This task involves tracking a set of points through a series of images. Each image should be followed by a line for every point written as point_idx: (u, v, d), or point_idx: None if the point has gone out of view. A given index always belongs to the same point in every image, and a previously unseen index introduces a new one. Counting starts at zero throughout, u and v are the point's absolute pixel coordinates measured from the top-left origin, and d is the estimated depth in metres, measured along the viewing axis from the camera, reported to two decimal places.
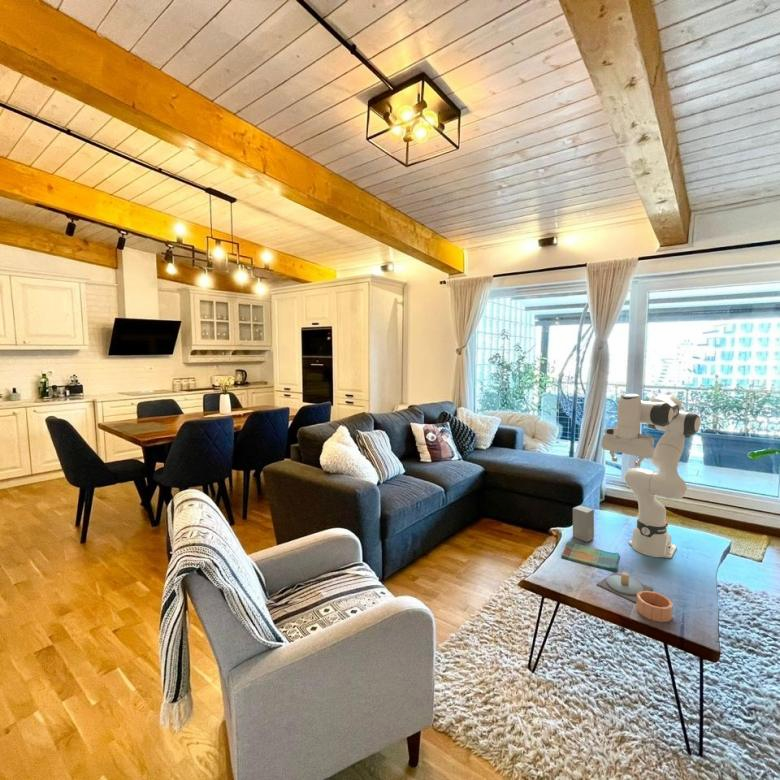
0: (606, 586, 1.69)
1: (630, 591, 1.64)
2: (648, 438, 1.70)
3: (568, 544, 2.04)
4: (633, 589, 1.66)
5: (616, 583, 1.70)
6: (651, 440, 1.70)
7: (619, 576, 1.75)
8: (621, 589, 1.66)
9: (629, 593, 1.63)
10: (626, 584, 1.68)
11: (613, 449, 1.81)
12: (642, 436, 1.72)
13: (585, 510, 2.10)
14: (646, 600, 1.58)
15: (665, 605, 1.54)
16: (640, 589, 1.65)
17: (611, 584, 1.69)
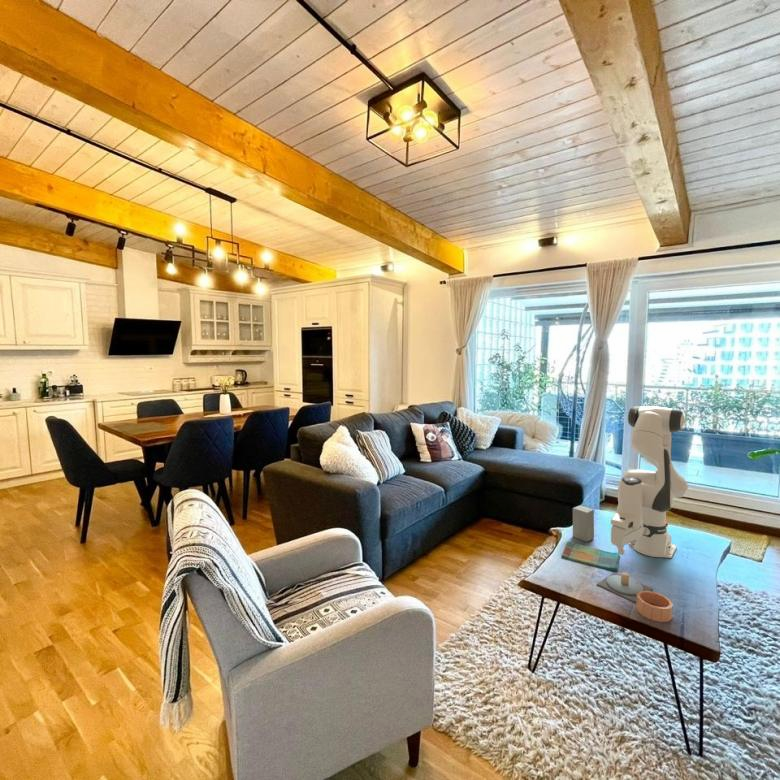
0: (606, 586, 1.69)
1: (630, 591, 1.64)
2: None
3: (568, 544, 2.04)
4: (633, 589, 1.66)
5: (616, 583, 1.70)
6: None
7: (619, 576, 1.75)
8: (621, 589, 1.66)
9: (629, 593, 1.63)
10: (626, 584, 1.68)
11: (626, 542, 1.63)
12: None
13: (585, 510, 2.10)
14: (646, 600, 1.58)
15: (665, 605, 1.54)
16: (640, 589, 1.65)
17: (611, 584, 1.69)
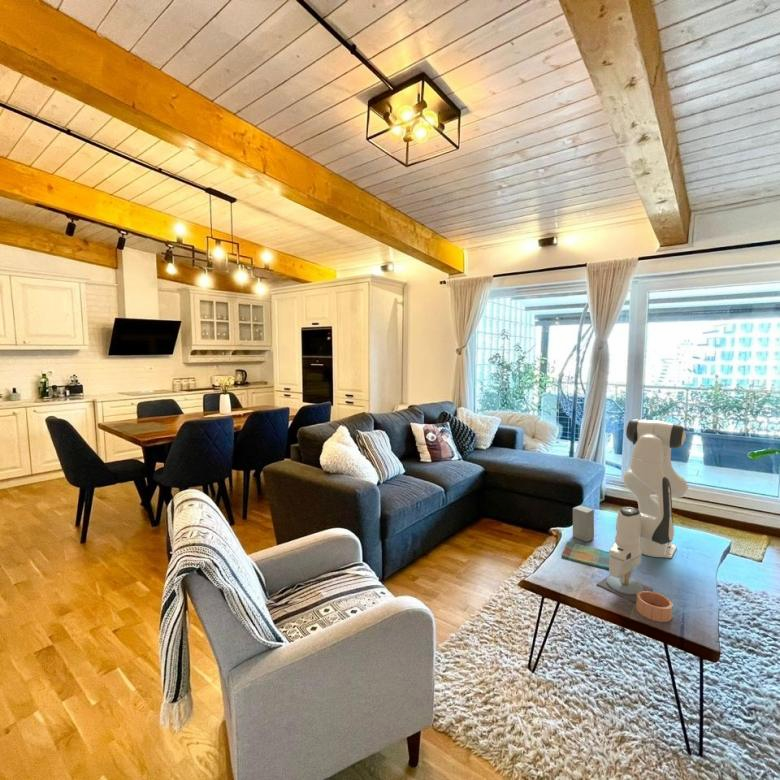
0: (606, 586, 1.69)
1: (630, 591, 1.64)
2: None
3: (568, 544, 2.04)
4: (633, 589, 1.66)
5: (616, 583, 1.70)
6: None
7: None
8: (621, 589, 1.66)
9: (629, 593, 1.63)
10: (626, 584, 1.68)
11: (625, 572, 1.65)
12: None
13: (585, 510, 2.10)
14: (646, 600, 1.58)
15: (665, 605, 1.54)
16: (640, 589, 1.65)
17: (611, 584, 1.69)
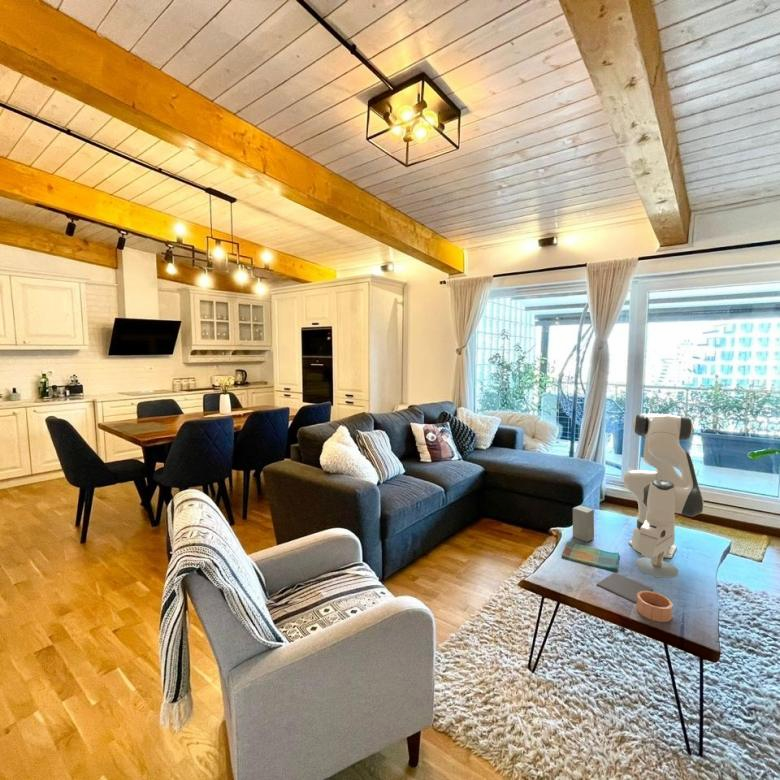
0: (606, 586, 1.69)
1: (664, 573, 1.47)
2: None
3: (568, 544, 2.04)
4: (667, 571, 1.48)
5: (648, 566, 1.52)
6: None
7: (649, 558, 1.57)
8: (654, 571, 1.48)
9: (663, 576, 1.46)
10: (659, 566, 1.51)
11: (658, 553, 1.47)
12: None
13: (585, 510, 2.10)
14: (646, 600, 1.58)
15: (665, 605, 1.54)
16: (674, 572, 1.48)
17: (642, 566, 1.51)
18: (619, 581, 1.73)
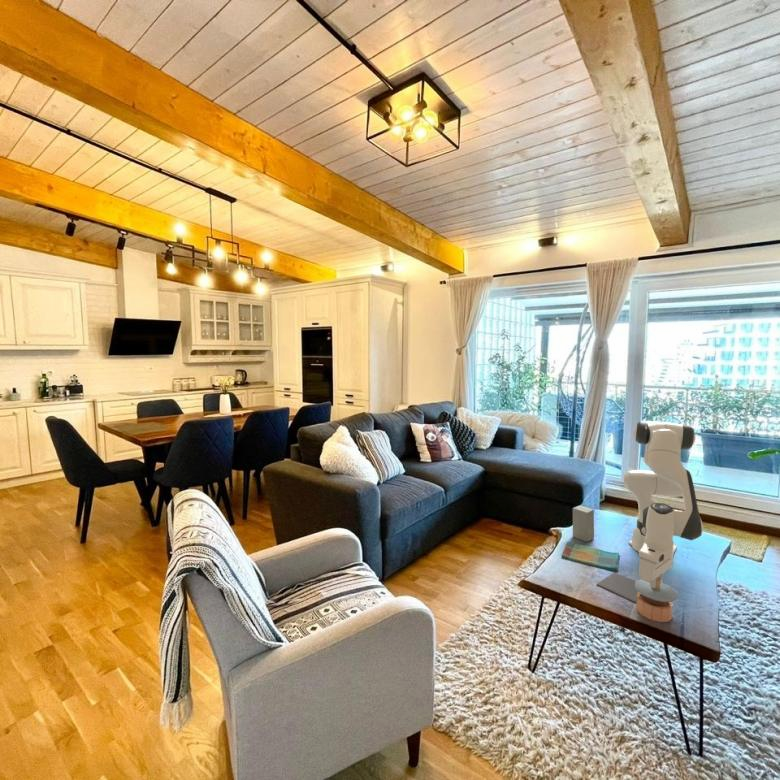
0: (606, 586, 1.69)
1: (663, 597, 1.47)
2: None
3: (568, 544, 2.04)
4: (666, 595, 1.49)
5: (646, 588, 1.53)
6: None
7: None
8: (652, 595, 1.49)
9: (662, 599, 1.47)
10: (657, 589, 1.51)
11: (656, 576, 1.48)
12: None
13: (585, 510, 2.10)
14: (646, 600, 1.58)
15: (665, 605, 1.54)
16: (673, 595, 1.49)
17: (640, 589, 1.52)
18: (619, 581, 1.73)
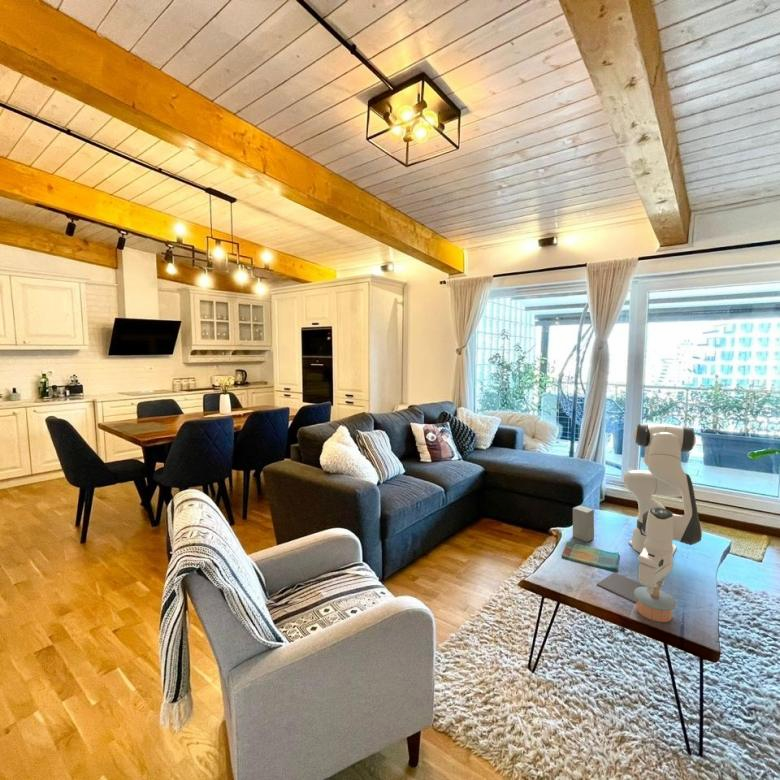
0: (606, 586, 1.69)
1: (662, 605, 1.48)
2: None
3: (568, 544, 2.04)
4: (665, 603, 1.49)
5: (646, 596, 1.53)
6: None
7: None
8: (651, 603, 1.49)
9: (661, 608, 1.47)
10: (656, 597, 1.52)
11: (656, 581, 1.48)
12: None
13: (585, 510, 2.10)
14: None
15: None
16: (672, 603, 1.49)
17: (640, 597, 1.53)
18: (619, 581, 1.73)
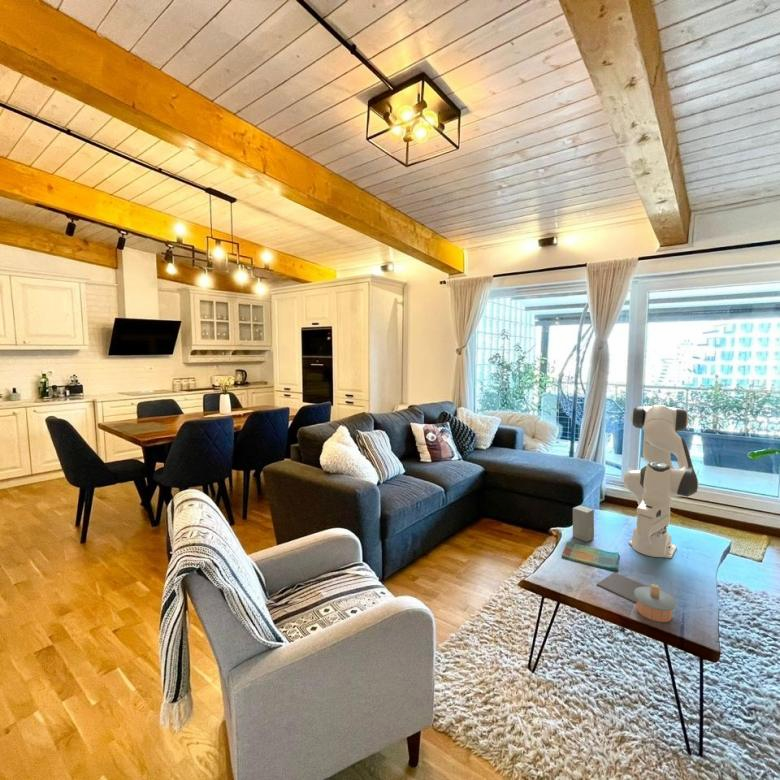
0: (606, 586, 1.69)
1: (662, 605, 1.48)
2: None
3: (568, 544, 2.04)
4: (665, 603, 1.49)
5: (646, 596, 1.53)
6: None
7: (648, 588, 1.59)
8: (651, 603, 1.49)
9: (661, 608, 1.47)
10: (656, 597, 1.52)
11: (653, 531, 1.53)
12: None
13: (585, 510, 2.10)
14: None
15: None
16: (672, 603, 1.49)
17: (640, 597, 1.53)
18: (619, 581, 1.73)
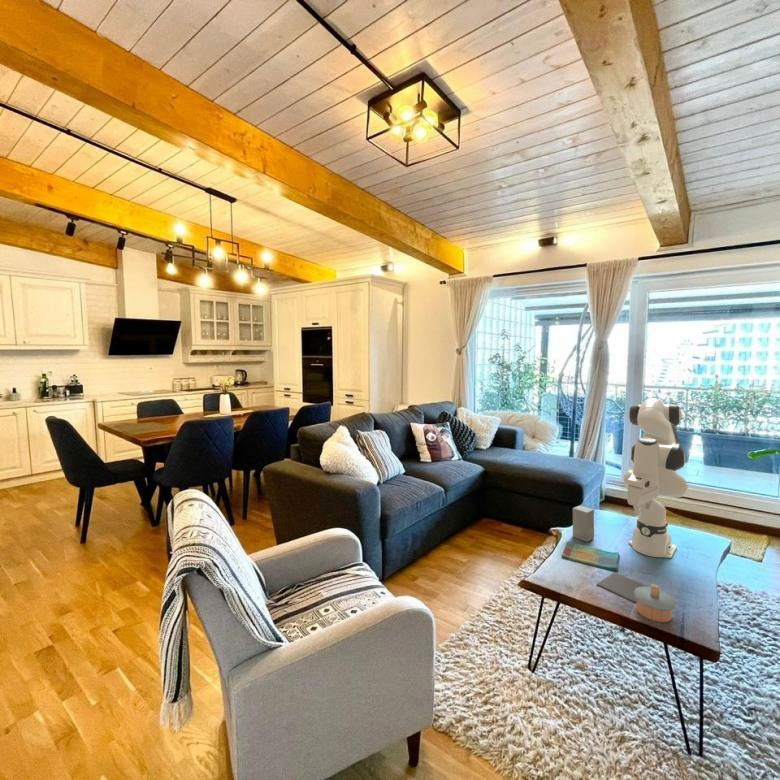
0: (606, 586, 1.69)
1: (662, 605, 1.48)
2: None
3: (568, 544, 2.04)
4: (665, 603, 1.49)
5: (646, 596, 1.53)
6: None
7: (648, 588, 1.59)
8: (651, 603, 1.49)
9: (661, 608, 1.47)
10: (656, 597, 1.52)
11: (643, 502, 1.64)
12: None
13: (585, 510, 2.10)
14: None
15: None
16: (672, 603, 1.49)
17: (640, 597, 1.53)
18: (619, 581, 1.73)
